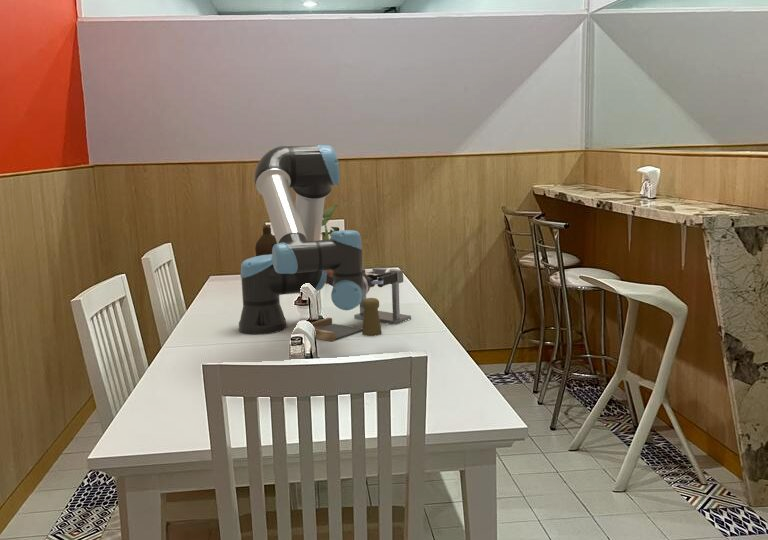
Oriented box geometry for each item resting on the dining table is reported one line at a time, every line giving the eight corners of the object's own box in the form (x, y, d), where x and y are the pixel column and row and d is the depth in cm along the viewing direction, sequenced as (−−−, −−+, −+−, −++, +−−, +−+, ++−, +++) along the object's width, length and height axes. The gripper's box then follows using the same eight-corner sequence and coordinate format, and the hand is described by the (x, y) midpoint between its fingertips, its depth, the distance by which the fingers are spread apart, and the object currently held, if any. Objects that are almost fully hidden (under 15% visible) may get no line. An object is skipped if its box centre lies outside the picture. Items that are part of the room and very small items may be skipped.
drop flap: (376, 278, 253) (376, 267, 252) (404, 282, 246) (403, 270, 245) (339, 290, 238) (338, 277, 238) (366, 293, 231) (366, 281, 230)
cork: (358, 334, 228) (357, 299, 226) (368, 330, 234) (366, 295, 232) (375, 336, 226) (374, 301, 224) (385, 331, 231) (384, 297, 229)
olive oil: (287, 281, 320) (284, 223, 316) (272, 286, 311) (269, 226, 307) (267, 280, 325) (264, 223, 321) (252, 284, 316) (248, 226, 312)
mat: (305, 334, 231) (305, 332, 231) (333, 325, 241) (333, 323, 241) (336, 340, 223) (336, 338, 223) (364, 330, 233) (364, 328, 233)
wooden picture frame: (297, 334, 231) (296, 326, 230) (328, 324, 242) (328, 317, 241) (332, 341, 221) (331, 333, 221) (363, 330, 233) (363, 323, 232)
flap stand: (371, 313, 256) (369, 266, 254) (411, 319, 246) (409, 270, 243) (354, 318, 250) (352, 270, 247) (394, 324, 239) (392, 274, 236)
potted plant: (351, 279, 321) (348, 198, 315) (330, 285, 309) (326, 201, 303) (322, 276, 330) (318, 197, 324) (301, 282, 317) (296, 200, 311)
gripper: (309, 301, 199) (324, 287, 220) (402, 299, 196) (408, 285, 217) (307, 273, 198) (323, 262, 219) (401, 271, 195) (407, 260, 216)
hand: (365, 273), depth 218 cm, fingers open, 13 cm apart
